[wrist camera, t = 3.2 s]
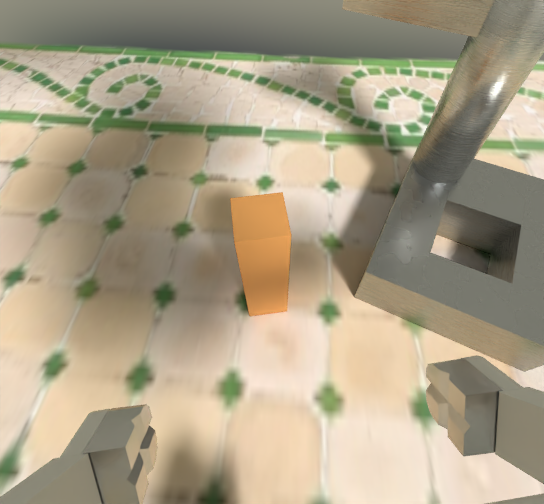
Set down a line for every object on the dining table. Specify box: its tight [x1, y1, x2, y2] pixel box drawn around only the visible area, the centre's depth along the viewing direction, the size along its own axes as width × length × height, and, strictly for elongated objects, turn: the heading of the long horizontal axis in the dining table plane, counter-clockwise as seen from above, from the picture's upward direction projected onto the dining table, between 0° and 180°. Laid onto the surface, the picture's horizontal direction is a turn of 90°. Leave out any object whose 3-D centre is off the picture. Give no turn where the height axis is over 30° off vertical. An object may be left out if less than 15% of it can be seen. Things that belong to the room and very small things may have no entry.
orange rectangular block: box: [230, 192, 291, 316], centre depth 21 cm, size 3×3×10 cm
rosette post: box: [342, 0, 544, 372], centre depth 19 cm, size 20×14×22 cm
